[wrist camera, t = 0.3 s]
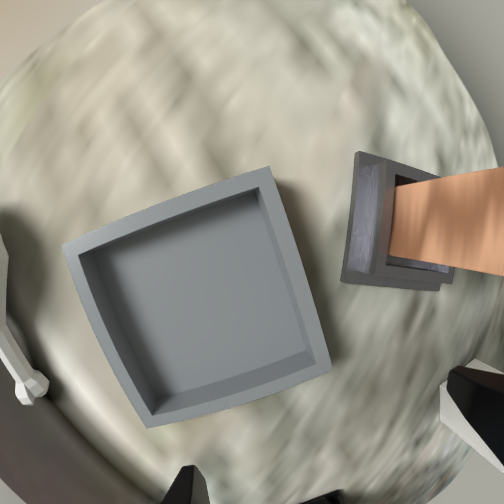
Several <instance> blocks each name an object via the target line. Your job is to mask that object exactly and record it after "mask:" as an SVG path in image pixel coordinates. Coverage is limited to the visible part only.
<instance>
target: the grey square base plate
mask: <svg viewBox="0 0 504 504" xmlns="http://www.w3.org/2000/svg"><path fill="white" fill-rule="evenodd" d="M438 178H441V177H439V176H436V175H433V174H430V173H428V172H425V171H422V170H419V169H416V168H413V167H410V166H407V165H404V164H401V163H398V162H395V161H392V160H389V159H385V158H382V157H379V156H375V155H372V154H368V153H365V152H361V151H358V152H356V153H355V159H354V173H353V184H352V195H351V205H350V214H349V223H348V231H347V239H346V246H345V253H344V260H343V267H342V273H341V279H340V281H341V282H344V283H352V284H362V285H373V286H384V287H395V288H406V289H418V290H430V291H439V289H440V284H441V283H447V284H452V282H453V276H454V270H455V267H453V266H447V265H442V264H436V263H431V262H425V261H419V260H414V259H408V258H402V257H397V256H391V255H387V254H388V247H389V239H390V231H391V222H392V212H393V200H394V187H398V186H402V185H407V184H412V183H417V182H423V181H428V180H433V179H438Z"/></svg>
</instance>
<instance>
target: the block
mask: <svg viewBox="0 0 504 504" xmlns="http://www.w3.org/2000/svg"><path fill="white" fill-rule="evenodd" d="M387 255H391V256H397V257H402V258H408V259H414V260H419V261H425V262H431V263H436V264H442V265H447V266H453V267H458V268H463V269H469V270H474V271H479V272H484V273H490V274H495V275H500V276H504V167H500V168H494V169H488V170H482V171H476V172H471V173H465V174H459V175H454V176H449V177H443V178H438V179H433V180H428V181H423V182H417V183H412V184H407V185H402V186H398V187H394V200H393V212H392V222H391V231H390V239H389V247H388V254H387Z"/></svg>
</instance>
